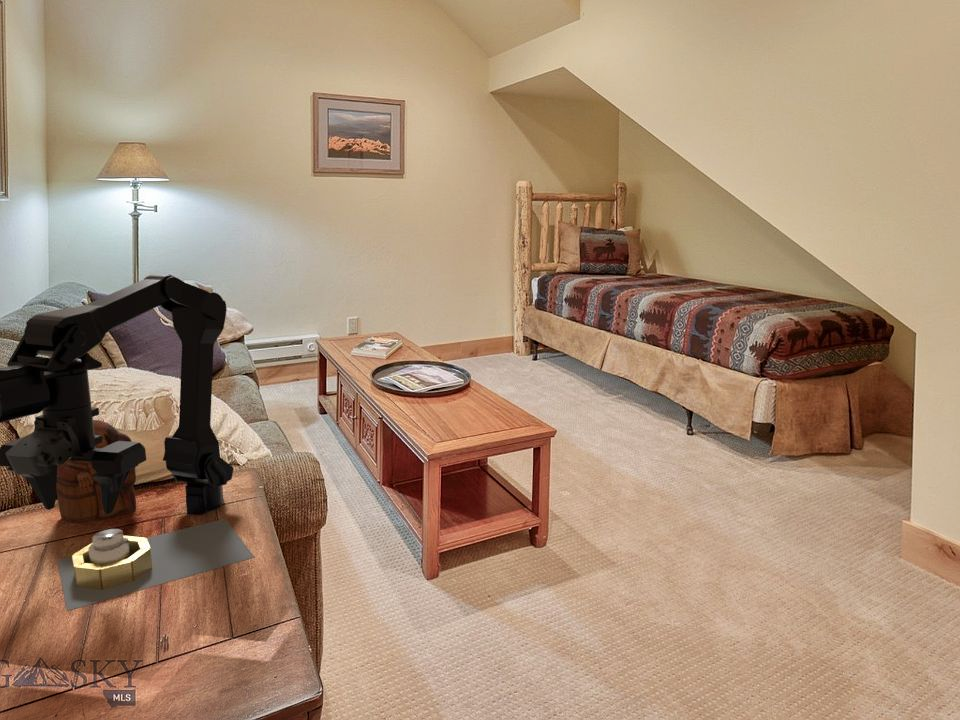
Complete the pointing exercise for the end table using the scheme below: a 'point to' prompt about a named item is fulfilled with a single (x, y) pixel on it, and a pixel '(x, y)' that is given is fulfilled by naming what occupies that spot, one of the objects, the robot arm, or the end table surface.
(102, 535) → the silver calibration weight
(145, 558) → the brass ring
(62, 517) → the wooden figurine
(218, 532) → the mat
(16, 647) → the end table surface
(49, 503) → the robot arm
